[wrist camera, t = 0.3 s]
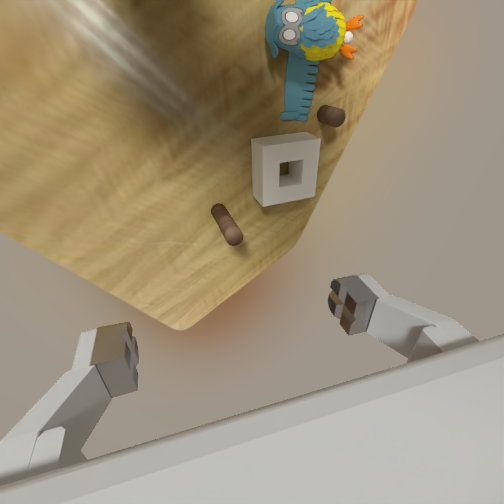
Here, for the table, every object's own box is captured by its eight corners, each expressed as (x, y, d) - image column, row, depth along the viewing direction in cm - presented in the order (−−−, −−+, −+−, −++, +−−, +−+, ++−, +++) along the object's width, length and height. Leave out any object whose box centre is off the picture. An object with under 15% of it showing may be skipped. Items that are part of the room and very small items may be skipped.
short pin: (317, 105, 57) (331, 109, 54) (331, 104, 58) (346, 108, 55) (316, 122, 59) (329, 128, 56) (329, 121, 60) (343, 126, 56)
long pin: (210, 205, 61) (226, 232, 52) (224, 202, 62) (242, 229, 53) (211, 218, 63) (227, 247, 54) (226, 215, 64) (243, 243, 55)
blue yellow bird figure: (343, 131, 53) (268, 128, 48) (319, 122, 60) (251, 118, 55) (400, -93, 38) (299, -131, 33) (360, -72, 45) (271, -101, 40)
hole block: (250, 138, 56) (262, 146, 52) (305, 131, 60) (321, 138, 55) (252, 195, 63) (263, 206, 59) (301, 186, 67) (314, 196, 62)
